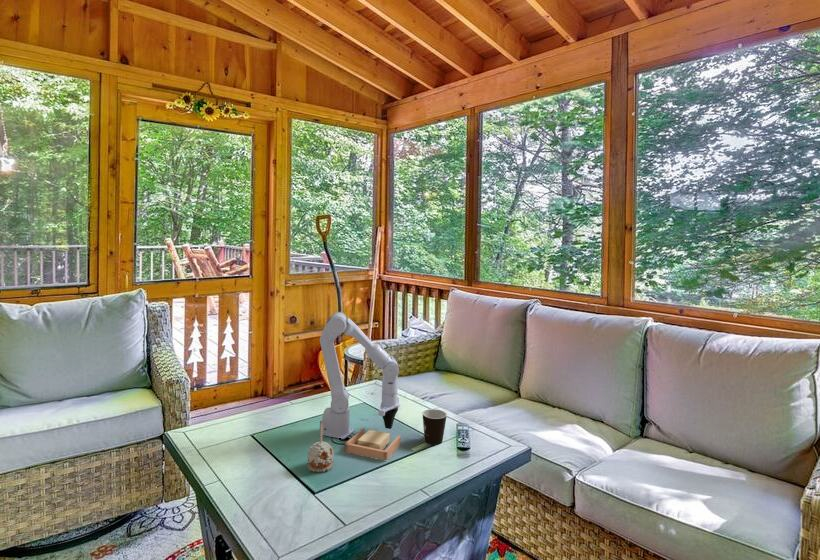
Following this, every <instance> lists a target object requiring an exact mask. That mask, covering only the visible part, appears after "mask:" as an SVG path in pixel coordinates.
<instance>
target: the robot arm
mask: <svg viewBox="0 0 820 560" xmlns="http://www.w3.org/2000/svg"><path fill="white" fill-rule="evenodd" d="M341 334H344V336H350V337H353V338H354V339H355V341H356V342H358V343H359V344H360V345H361V346H362V347H363V348H364V349H365V350H366V351H367V352H366V355H367V357H368V358H369V359H370V360H371V361H372V362H373V363H374V364H375V365H376V366H377V367H378V368H379V369H381V370H382V373H383V374H382V380H381V381H382V382H381V402H380V407H379V409H378V416H381V417H382V419H383V423H384V428H385V429H389V430H390V429H392V427H393V424H394V420H395V417H396V415H397V412H398V411H399V408H400V407H401V404H400V403H399V402H400V397H399V396H398V390H399V389H398V385H399V379H398V378H399V377H398V376H399V373H400V369H399V364H398V362H397V360H396V359H395V358H394V357H393V355H390V354H389V353H388V352H387V351H386V350H385V347H384V345H380V344H379V343H374V342H372V340H371V339H370V338H369V337H368V336H367V335H366V334H365V333H364V331H363V330H362V329H360V327H359V326H358V325H357V324H356V323H355V322H354V321H353V320H352V319H351V318H350V317H347V315H346V314H345V313H344V312H343V311H336V312H333V313H332V314H331V315H330V317H329V318H328V319H327V320H326V323H325V326H324V328H323V329H322V332H321V335H320V337H319V343H320V348H321V352H322V357H323V361H324V366H325V370H326V374H327V379H328V383H329V388H330V396H331V401H330V407H326V408H325V409H324V411H323V413H322V418H321V420H322V421H323V426H322V436H325V437H330V438H335V439H339V438H341V439H340V440H345V439H346V438H348V436H350V435H351V434H352V433H354V431H355V429H352V428H351V427H350V421H351V418H350V417H351V408H350V406H349V405H350V403H349V401H350V400H349V399H350V394H349V391H348V390H347V389H346V388H345V383H344V381H343V376H342V373H341V368H340V364H339V363H340V362H339V359H338V356H337V351H336V346H335V340H336V339H337V338H338V337H339V336H340V335H341Z"/></svg>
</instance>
